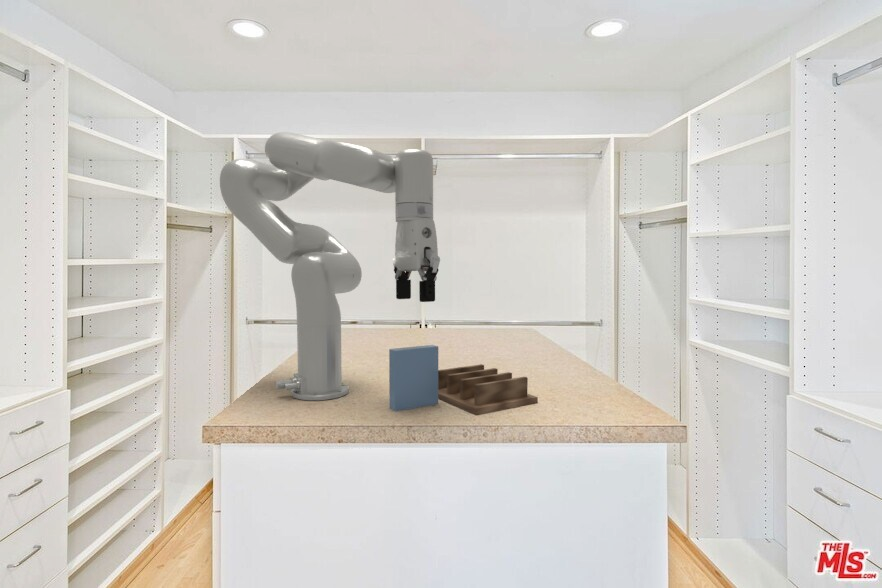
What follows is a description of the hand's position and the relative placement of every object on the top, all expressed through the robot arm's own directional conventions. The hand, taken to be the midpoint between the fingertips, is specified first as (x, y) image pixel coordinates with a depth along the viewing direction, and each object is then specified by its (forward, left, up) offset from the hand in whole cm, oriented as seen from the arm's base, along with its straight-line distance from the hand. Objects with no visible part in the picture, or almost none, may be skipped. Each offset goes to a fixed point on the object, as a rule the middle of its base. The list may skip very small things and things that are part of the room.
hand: (415, 300), depth 99 cm
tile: (0, 0, -22) cm, 22 cm away
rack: (+15, -2, -22) cm, 26 cm away
